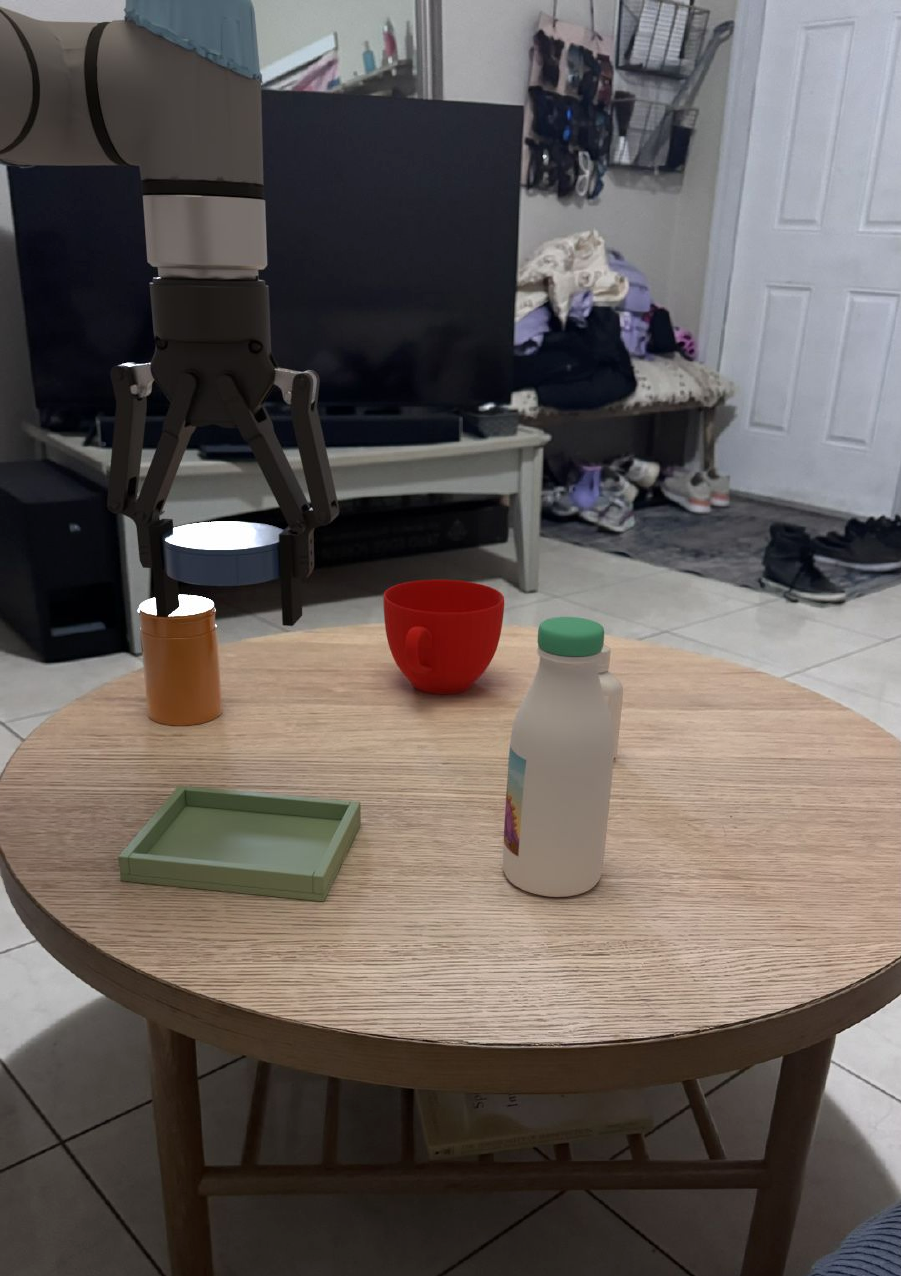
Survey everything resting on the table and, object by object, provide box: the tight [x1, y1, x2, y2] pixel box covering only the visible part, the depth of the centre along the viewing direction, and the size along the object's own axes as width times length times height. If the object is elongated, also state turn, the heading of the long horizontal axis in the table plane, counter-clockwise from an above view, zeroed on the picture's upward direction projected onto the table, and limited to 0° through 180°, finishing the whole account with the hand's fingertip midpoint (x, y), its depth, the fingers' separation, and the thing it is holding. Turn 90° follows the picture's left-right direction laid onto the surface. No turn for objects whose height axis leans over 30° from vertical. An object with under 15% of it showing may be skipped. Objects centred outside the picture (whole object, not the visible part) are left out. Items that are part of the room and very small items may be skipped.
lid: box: [162, 521, 285, 587], centre depth 80 cm, size 9×9×2 cm
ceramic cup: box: [382, 579, 505, 695], centre depth 120 cm, size 13×17×10 cm
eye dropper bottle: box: [598, 642, 624, 759], centre depth 105 cm, size 4×6×12 cm
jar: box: [137, 594, 223, 727], centre depth 112 cm, size 7×7×11 cm
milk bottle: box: [502, 616, 615, 898], centre depth 82 cm, size 8×8×20 cm
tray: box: [117, 784, 362, 902], centre depth 88 cm, size 16×13×2 cm
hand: (230, 615), depth 82 cm, fingers closed on lid, 9 cm apart
